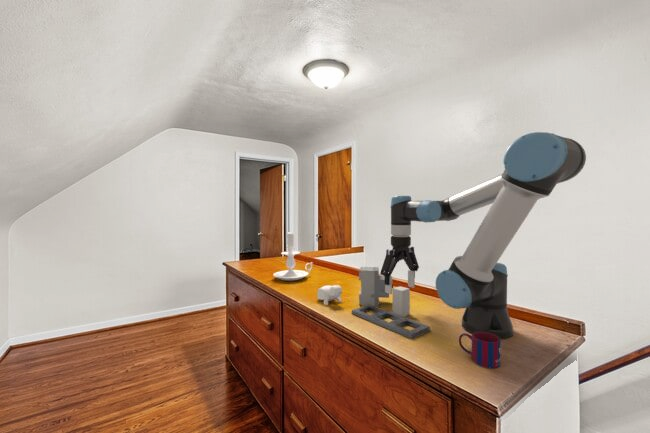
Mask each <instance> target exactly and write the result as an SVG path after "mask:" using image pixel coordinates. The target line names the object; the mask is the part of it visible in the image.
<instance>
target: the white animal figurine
mask: <svg viewBox="0 0 650 433" xmlns="http://www.w3.org/2000/svg"><path fill="white" fill-rule="evenodd" d="M316 294H317V299H318V300H321V301H323V305H324V306H328V305H329V302H330V301H334V300H336V301H337V302H338V303H342V302H343V300H342V298H341V296H342V295H343V289H342V286H340V285H338V284H333V285H324V286H322V287H319V288H318V289H317V292H316Z"/></svg>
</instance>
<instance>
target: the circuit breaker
mask: <svg viewBox="0 0 650 433" xmlns="http://www.w3.org/2000/svg"><path fill="white" fill-rule="evenodd" d="M379 268H380V267H378V266H360V268H359V271H358V280H359V281H360V290H359V292H358V293H359V294H358V306H367V305H372V306H375V307H379V303H380V298H384V299H385V298H386V299H387V298H388V299H389V298H390V294H389V293H385V277H384V275H380V272H379ZM392 288H394V283H392Z"/></svg>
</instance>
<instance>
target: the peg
mask: <svg viewBox="0 0 650 433" xmlns="http://www.w3.org/2000/svg"><path fill="white" fill-rule="evenodd" d="M410 292H411V290H410V287H409V288H408V287H404V286H396V287H393V288H392V313H394V314H397V315H400V316H403V317H406V316H408V315H410V314H411V312H410V311H411V310H410V308H411V307H410V306H411V305H410V303H411V302H410V301H411V298H410V296H411V295H410Z"/></svg>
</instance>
